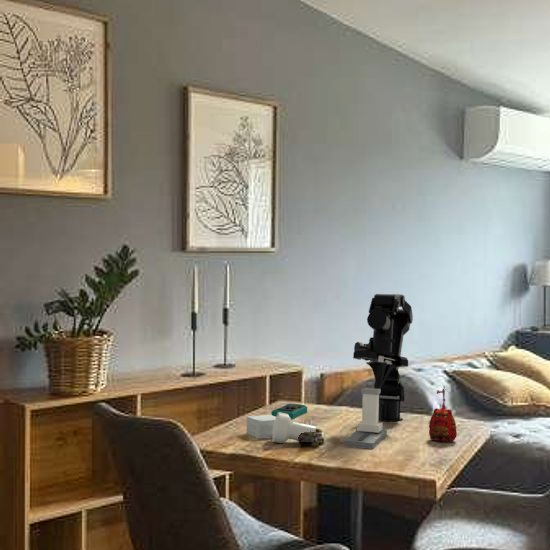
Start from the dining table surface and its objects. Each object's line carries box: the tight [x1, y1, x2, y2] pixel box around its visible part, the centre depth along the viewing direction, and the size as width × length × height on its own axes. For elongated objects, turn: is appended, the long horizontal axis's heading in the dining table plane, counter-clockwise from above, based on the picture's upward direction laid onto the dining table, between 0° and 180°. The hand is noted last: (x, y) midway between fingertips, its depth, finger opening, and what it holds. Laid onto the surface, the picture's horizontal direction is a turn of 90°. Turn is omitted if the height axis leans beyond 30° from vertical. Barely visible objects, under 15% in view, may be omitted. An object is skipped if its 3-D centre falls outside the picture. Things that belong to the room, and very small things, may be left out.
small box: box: [245, 414, 276, 440], centre depth 225 cm, size 8×8×5 cm
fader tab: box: [357, 387, 384, 433], centre depth 225 cm, size 5×6×12 cm
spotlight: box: [271, 412, 317, 444], centre depth 216 cm, size 8×11×8 cm
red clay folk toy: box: [428, 385, 458, 443], centre depth 222 cm, size 8×7×15 cm
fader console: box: [343, 428, 388, 450], centre depth 220 cm, size 18×8×2 cm, turn 161°
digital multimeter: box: [270, 403, 308, 420], centre depth 256 cm, size 7×15×3 cm, turn 158°
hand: (379, 387), depth 236 cm, fingers closed
